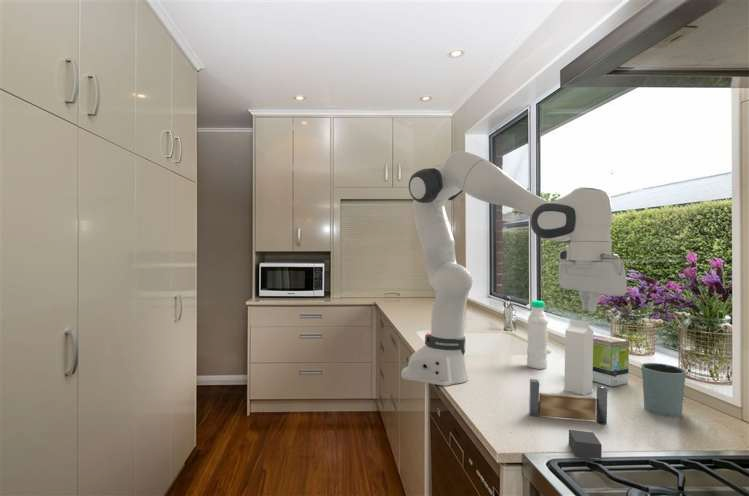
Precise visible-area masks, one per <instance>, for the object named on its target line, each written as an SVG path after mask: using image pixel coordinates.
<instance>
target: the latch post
mask: <svg viewBox="0 0 749 496" xmlns="http://www.w3.org/2000/svg"><path fill="white" fill-rule="evenodd" d="M539 393H540V381H539V379H537V378H536V379H533V378H529V404H528V405H529V408H528V409H529V413H528V414H529V416H530V417H536V418H537V417H539V416H540V415H539Z"/></svg>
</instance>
